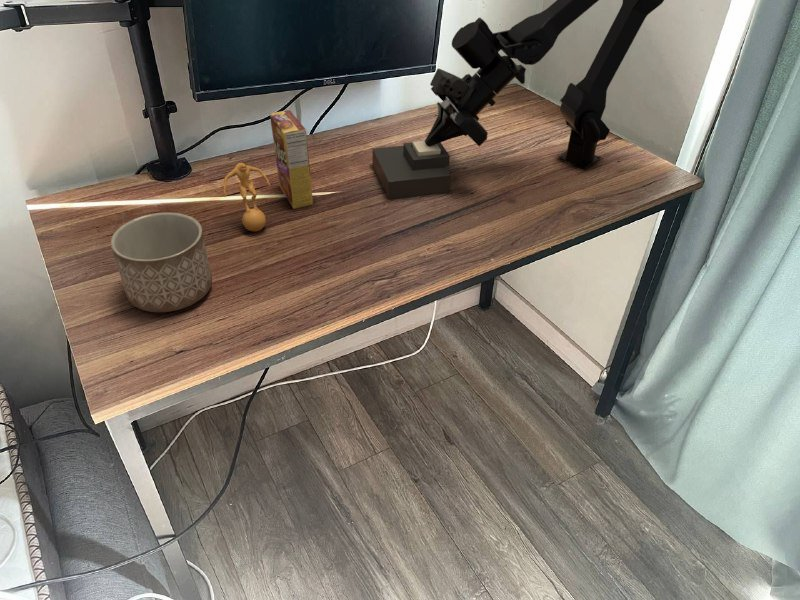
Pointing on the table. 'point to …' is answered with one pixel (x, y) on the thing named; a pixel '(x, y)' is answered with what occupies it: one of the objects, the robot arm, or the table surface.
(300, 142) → the candy box
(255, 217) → the figure on ball
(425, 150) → the cream block
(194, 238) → the planter
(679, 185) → the table surface
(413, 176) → the stepped base
